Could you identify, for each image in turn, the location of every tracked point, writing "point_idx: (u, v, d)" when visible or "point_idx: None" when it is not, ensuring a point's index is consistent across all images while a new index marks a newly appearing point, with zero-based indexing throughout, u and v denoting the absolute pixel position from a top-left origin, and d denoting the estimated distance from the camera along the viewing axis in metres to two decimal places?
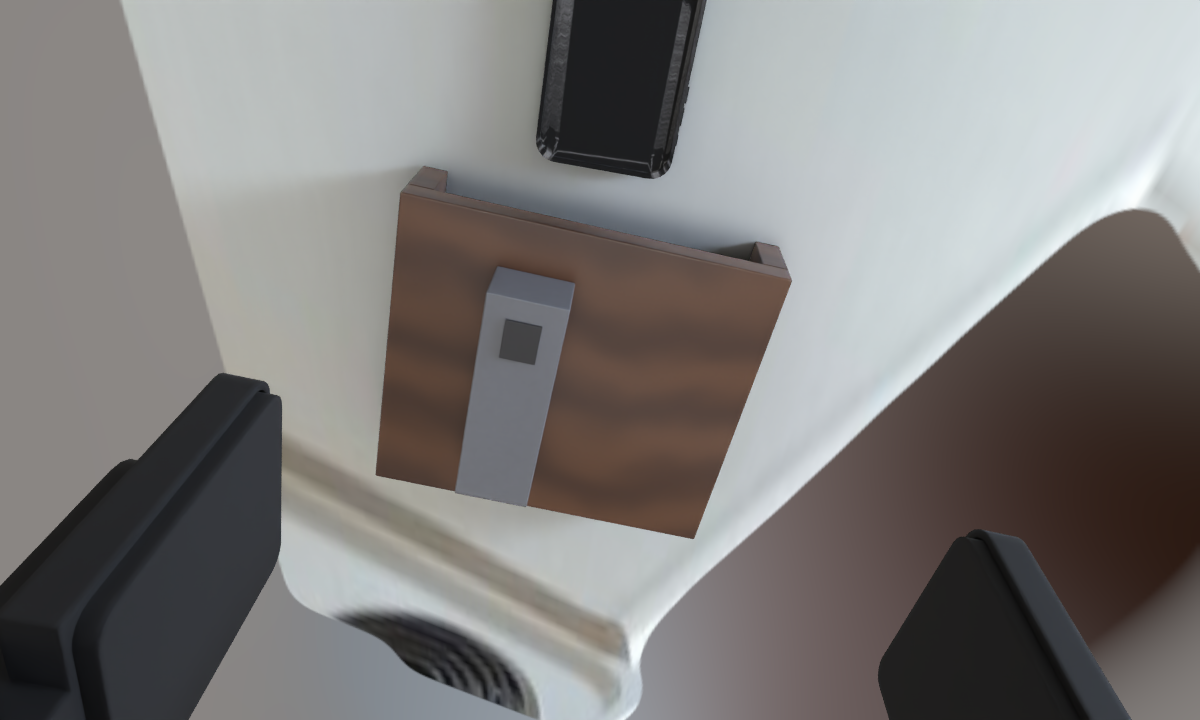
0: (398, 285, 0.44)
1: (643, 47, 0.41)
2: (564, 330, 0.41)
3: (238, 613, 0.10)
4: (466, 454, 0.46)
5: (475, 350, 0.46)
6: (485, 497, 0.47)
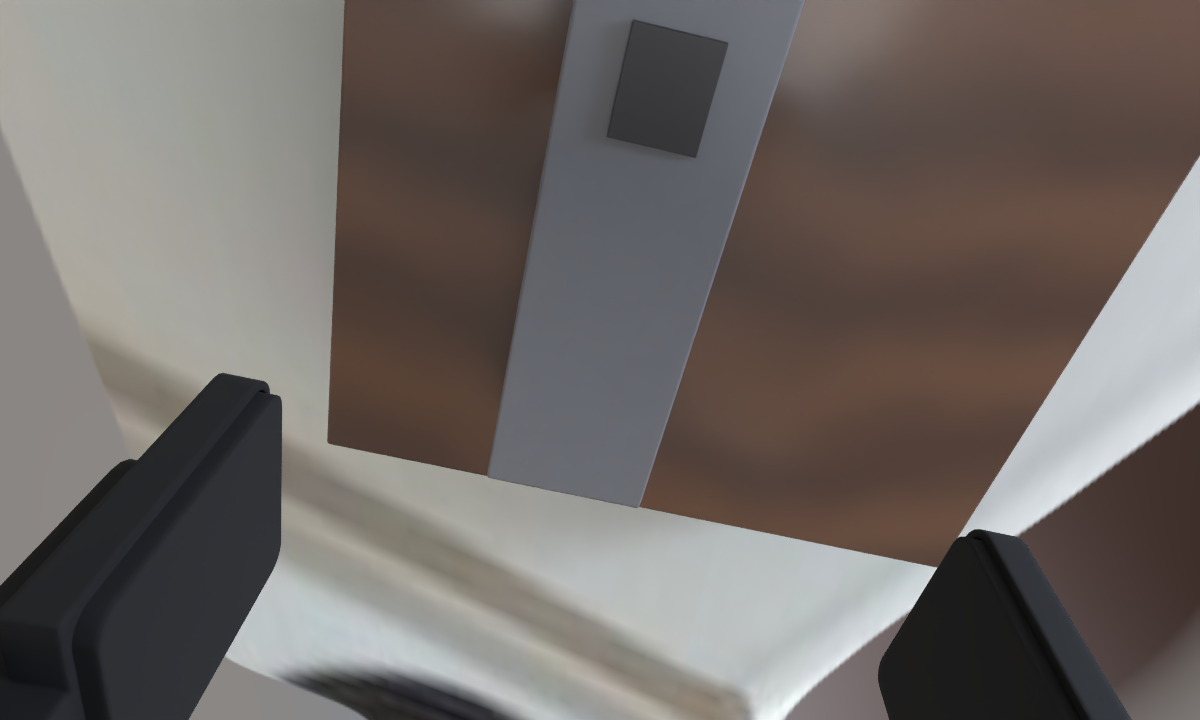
0: None
1: None
2: (784, 54, 0.16)
3: (238, 613, 0.10)
4: (516, 392, 0.20)
5: (534, 161, 0.21)
6: (552, 487, 0.22)
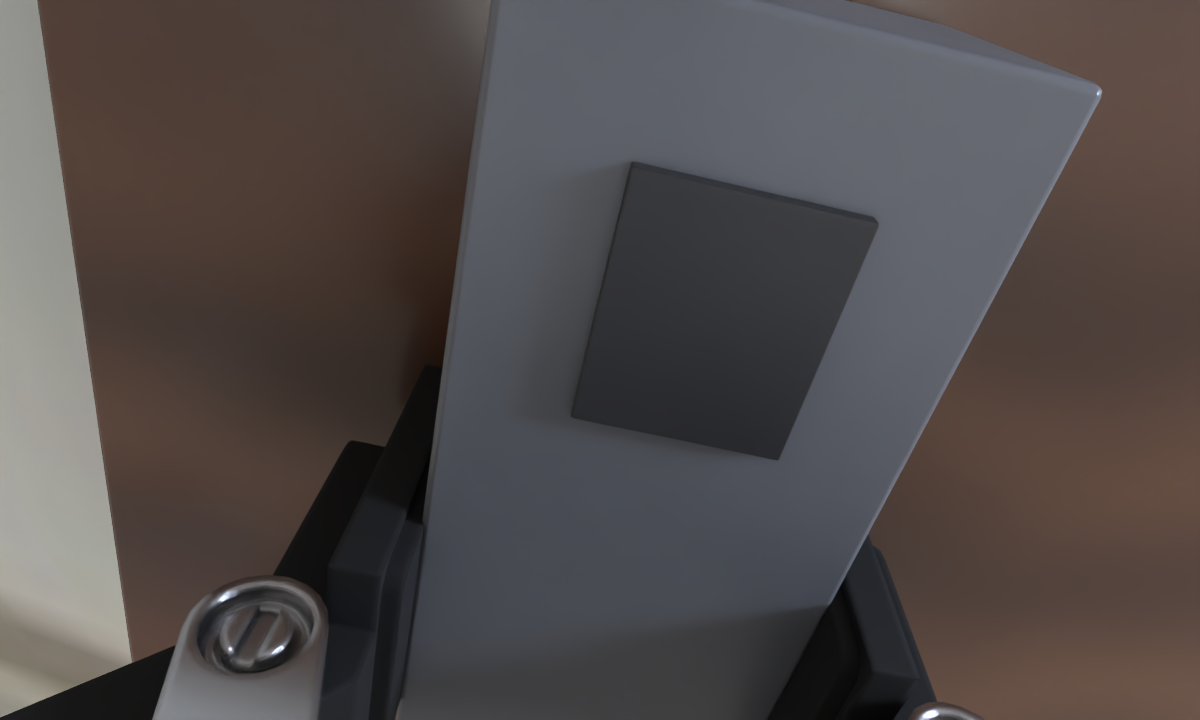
0: (73, 57, 0.09)
1: None
2: (1018, 245, 0.06)
3: None
4: None
5: None
6: None
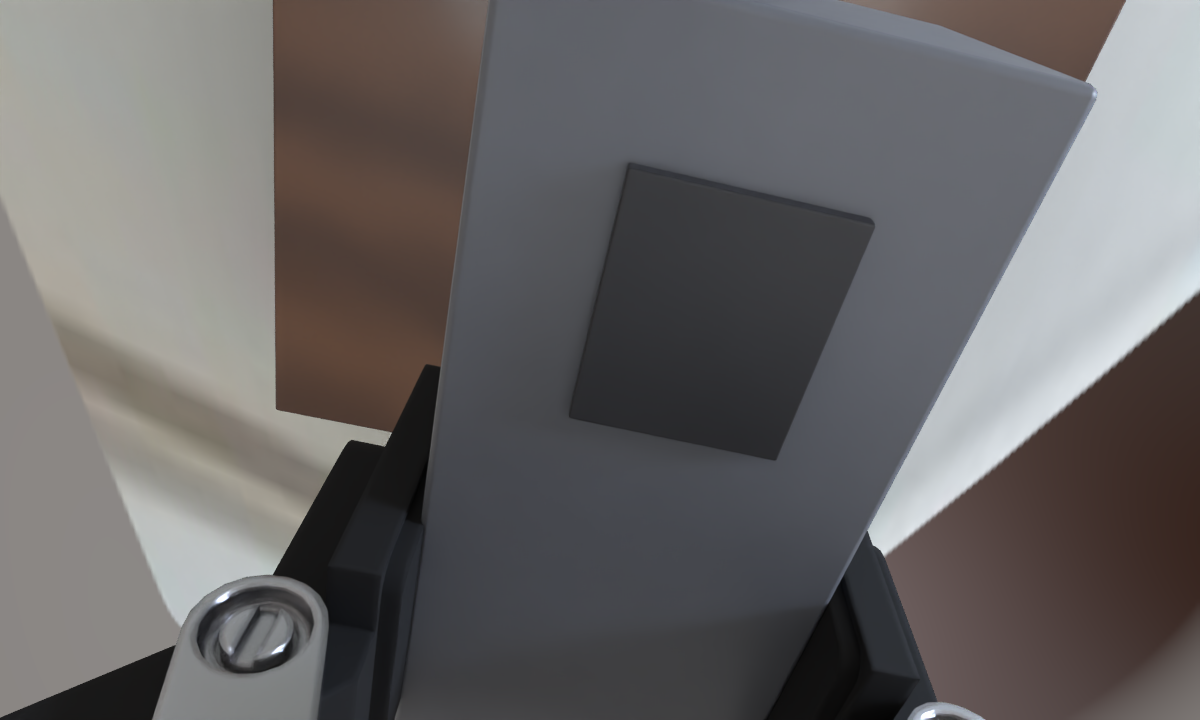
0: None
1: None
2: (1014, 245, 0.06)
3: None
4: None
5: (455, 131, 0.22)
6: None
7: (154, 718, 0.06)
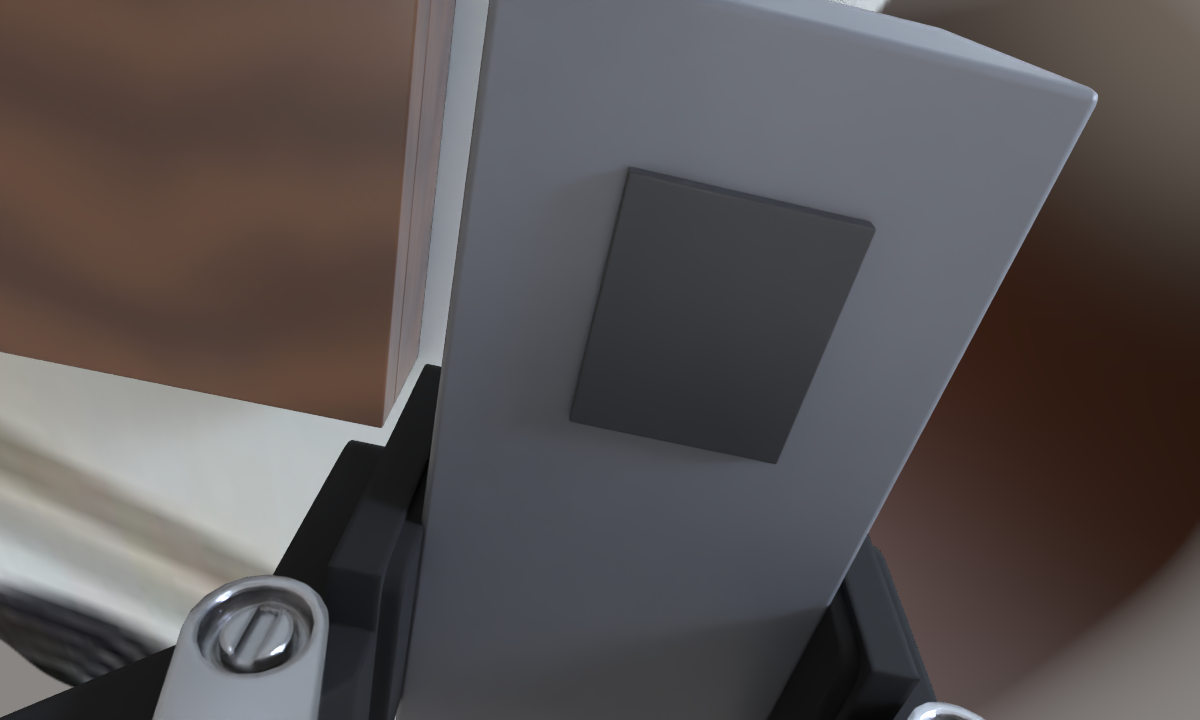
0: None
1: None
2: (1014, 249, 0.06)
3: None
4: None
5: None
6: None
7: (154, 718, 0.06)
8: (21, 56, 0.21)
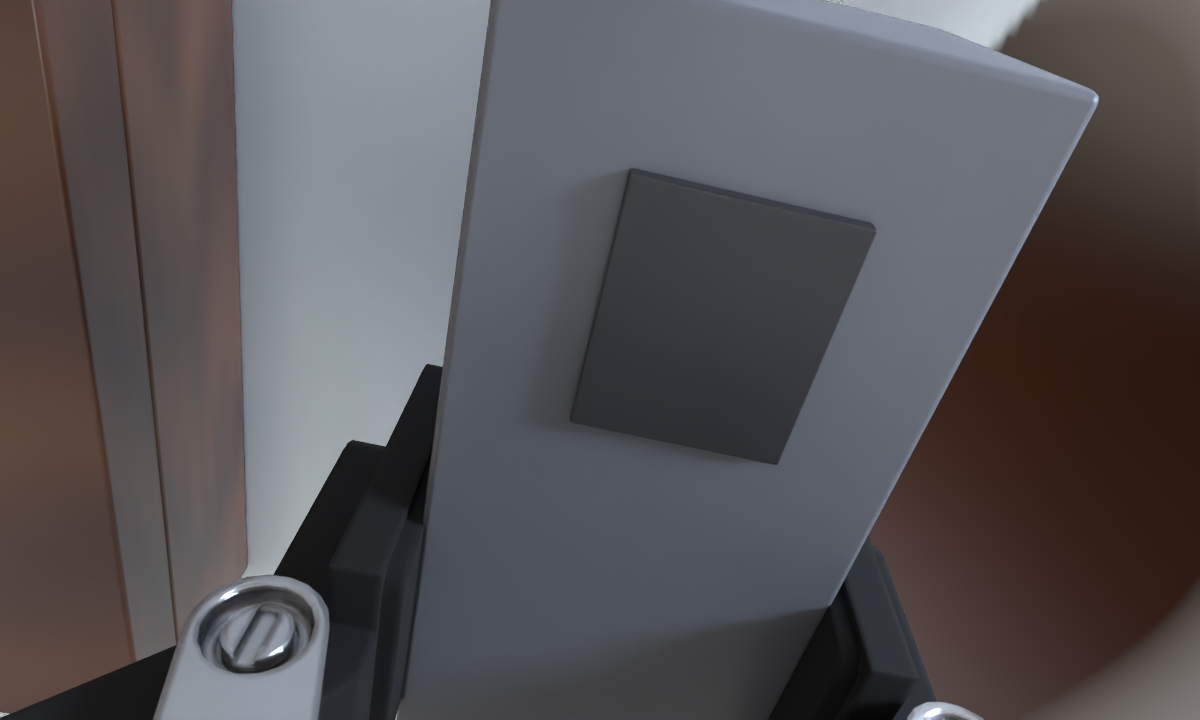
0: None
1: None
2: (1015, 250, 0.06)
3: None
4: None
5: None
6: None
7: (155, 718, 0.06)
8: None
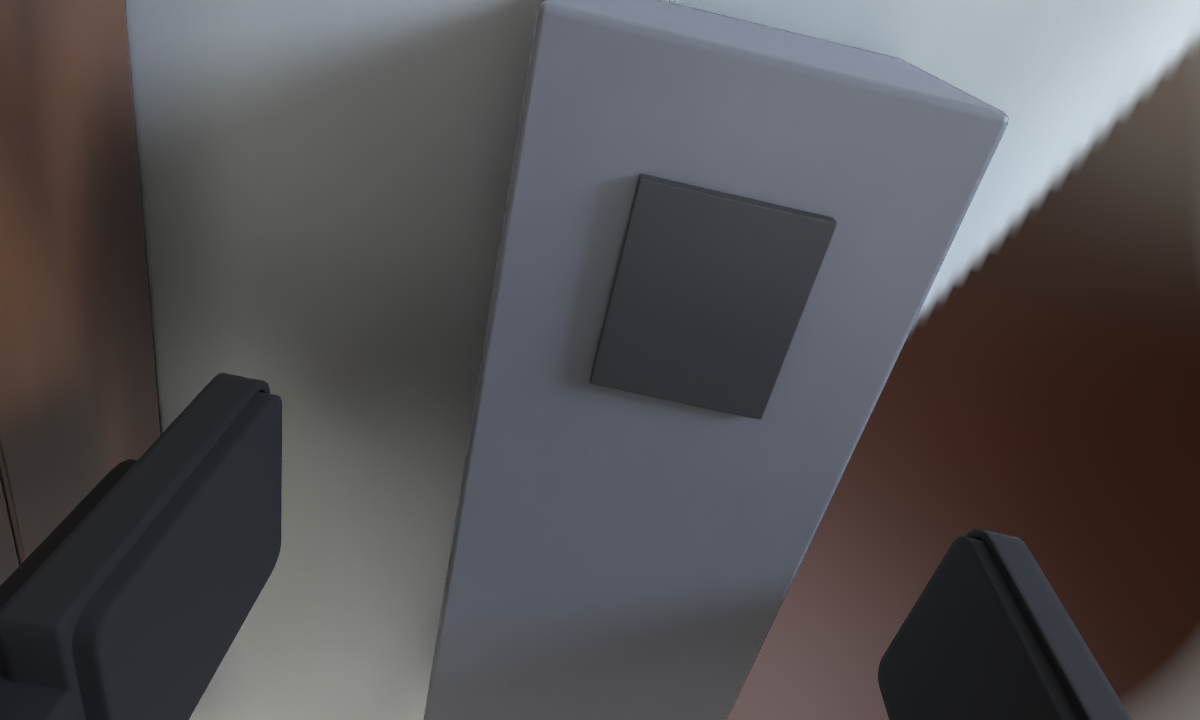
0: None
1: None
2: (949, 239, 0.08)
3: (238, 613, 0.10)
4: None
5: None
6: None
7: None
8: None
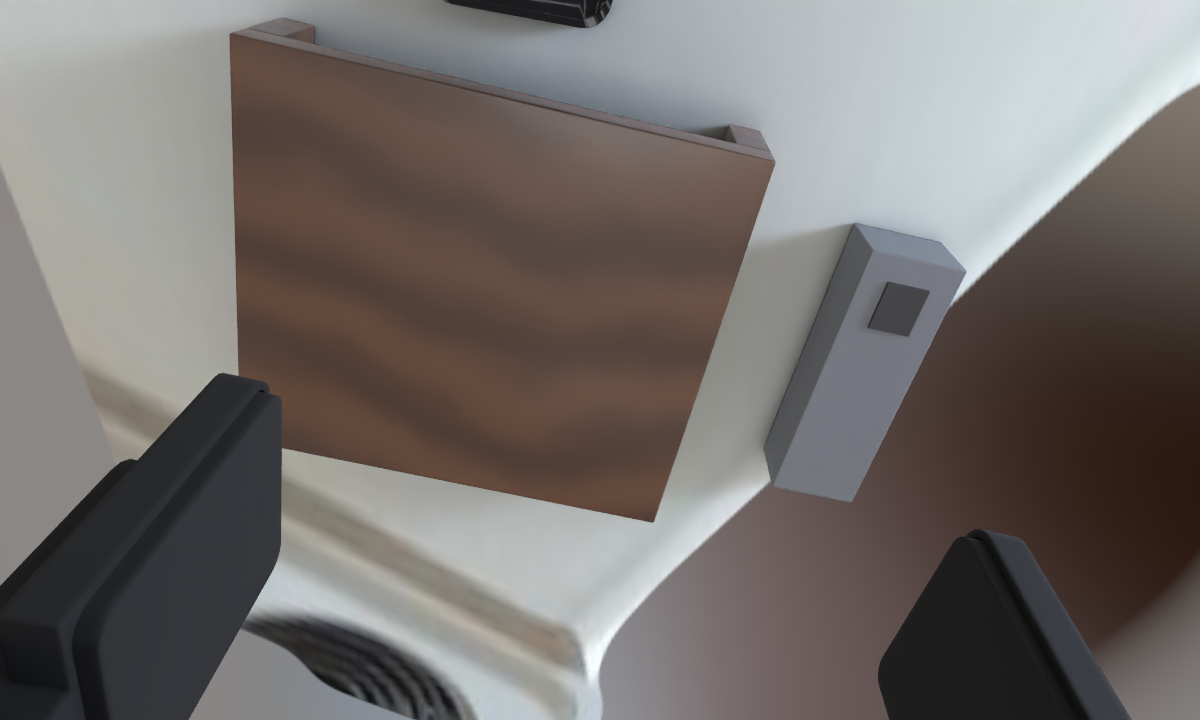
0: (241, 173, 0.33)
1: None
2: (953, 295, 0.35)
3: (238, 613, 0.10)
4: (798, 441, 0.40)
5: (353, 266, 0.34)
6: (806, 491, 0.41)
7: None
8: (483, 313, 0.35)
